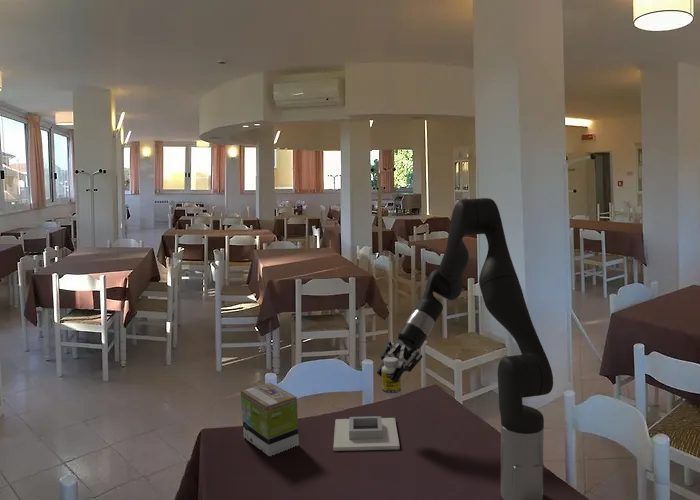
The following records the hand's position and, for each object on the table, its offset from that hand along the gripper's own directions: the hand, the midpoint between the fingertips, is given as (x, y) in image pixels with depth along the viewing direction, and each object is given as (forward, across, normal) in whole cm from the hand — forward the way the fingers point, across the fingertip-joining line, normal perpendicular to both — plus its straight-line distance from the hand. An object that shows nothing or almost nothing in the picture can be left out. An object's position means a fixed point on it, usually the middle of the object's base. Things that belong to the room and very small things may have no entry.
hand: (386, 377), depth 159 cm
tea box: (+32, -17, -8) cm, 38 cm away
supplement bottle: (+2, 0, +5) cm, 5 cm away
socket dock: (+16, -4, +9) cm, 18 cm away
